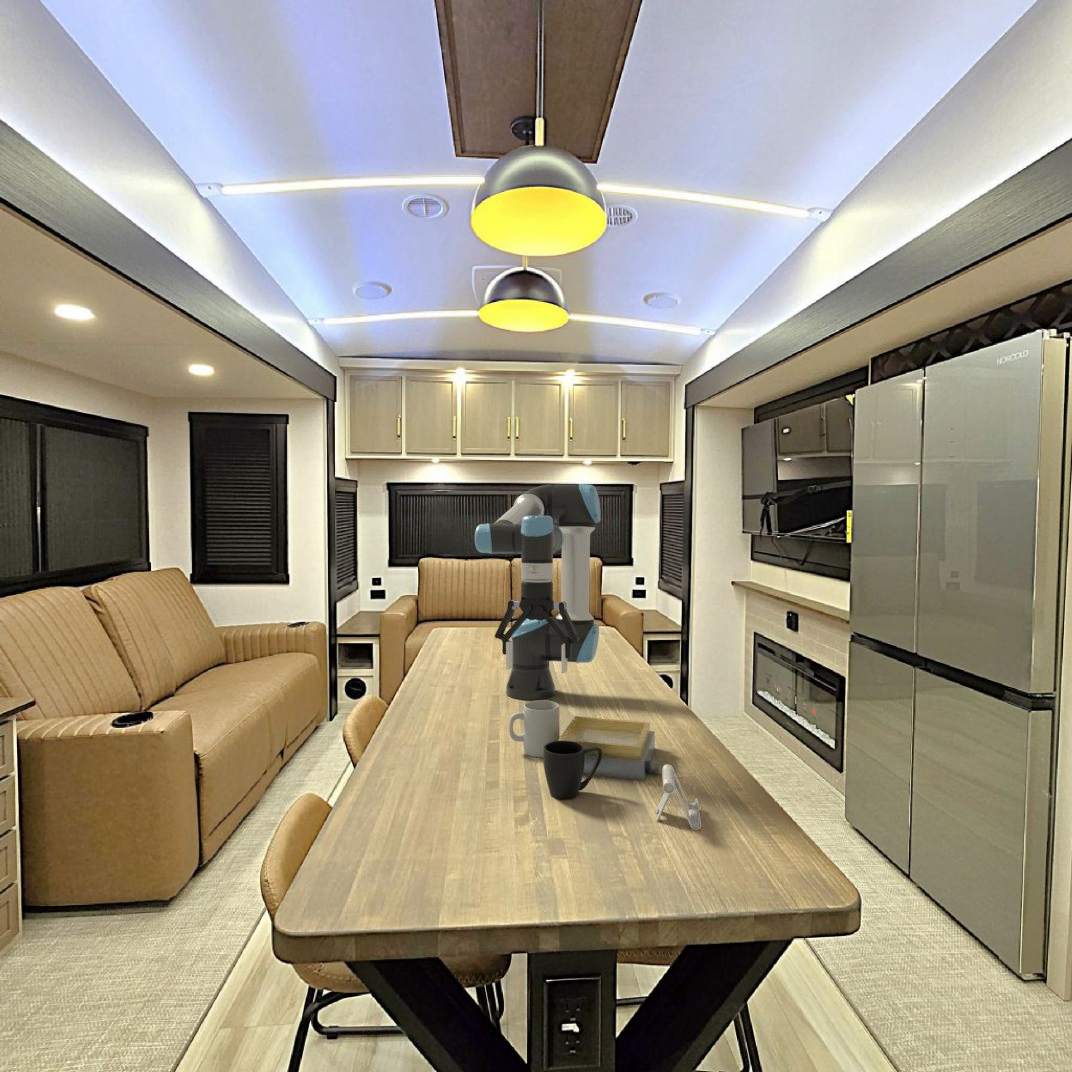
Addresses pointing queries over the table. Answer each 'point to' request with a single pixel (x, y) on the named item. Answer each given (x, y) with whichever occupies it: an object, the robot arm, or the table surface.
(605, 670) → the table surface
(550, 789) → the mug
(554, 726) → the mug
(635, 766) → the yellow and grey tray
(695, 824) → the portable electronic device stand
